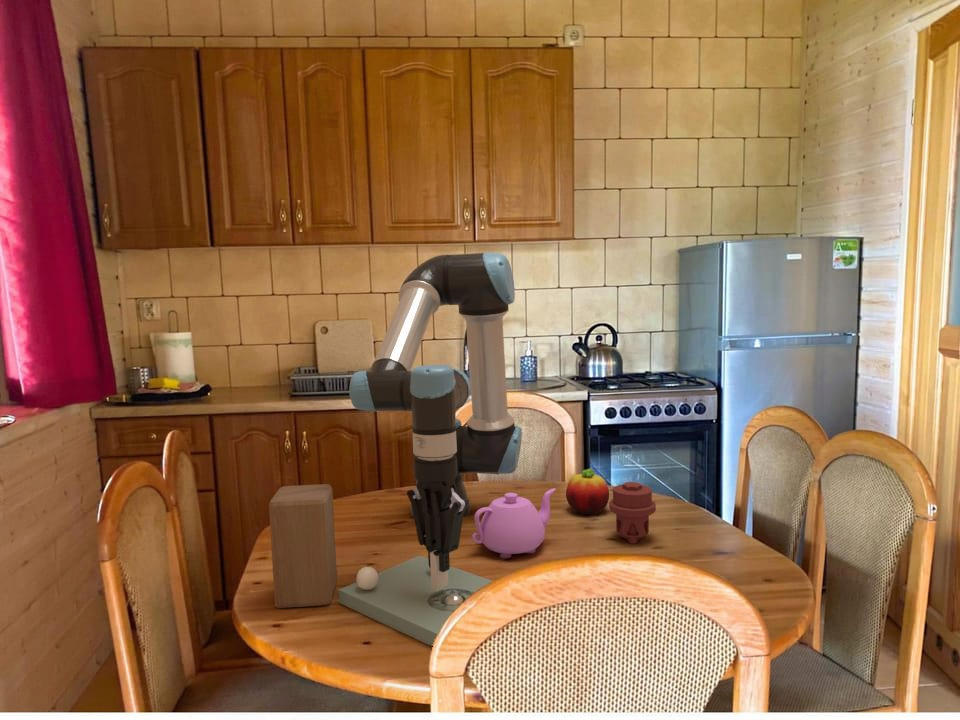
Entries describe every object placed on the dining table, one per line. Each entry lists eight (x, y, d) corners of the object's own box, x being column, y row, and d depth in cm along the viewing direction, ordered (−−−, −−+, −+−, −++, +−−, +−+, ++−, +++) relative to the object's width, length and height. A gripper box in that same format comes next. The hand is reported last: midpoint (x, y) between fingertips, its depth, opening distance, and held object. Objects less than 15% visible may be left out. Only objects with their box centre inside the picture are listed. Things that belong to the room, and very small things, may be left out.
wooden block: (285, 586, 129) (279, 485, 127) (338, 583, 130) (332, 482, 128) (274, 610, 120) (267, 501, 118) (331, 606, 120) (325, 498, 118)
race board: (339, 603, 122) (338, 589, 121) (419, 567, 137) (419, 555, 136) (440, 650, 104) (440, 635, 104) (520, 604, 119) (520, 590, 119)
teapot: (542, 530, 156) (541, 479, 154) (573, 551, 143) (572, 495, 141) (461, 544, 148) (459, 491, 147) (485, 568, 135) (484, 509, 134)
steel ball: (436, 602, 116) (448, 598, 114) (450, 592, 119) (462, 588, 116) (446, 620, 116) (458, 617, 113) (459, 610, 118) (471, 606, 116)
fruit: (561, 515, 165) (560, 476, 164) (572, 502, 175) (571, 465, 174) (604, 520, 161) (604, 479, 160) (613, 506, 171) (613, 468, 170)
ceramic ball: (352, 589, 121) (351, 568, 121) (369, 582, 124) (368, 561, 124) (366, 596, 119) (365, 574, 118) (383, 588, 122) (382, 566, 121)
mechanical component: (654, 531, 153) (657, 548, 143) (609, 529, 155) (609, 545, 145) (654, 478, 152) (656, 491, 142) (609, 477, 154) (608, 490, 144)
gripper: (393, 454, 117) (399, 584, 120) (446, 465, 109) (451, 605, 111) (424, 446, 123) (429, 570, 125) (477, 456, 114) (481, 589, 117)
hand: (439, 586), depth 118 cm, fingers closed
